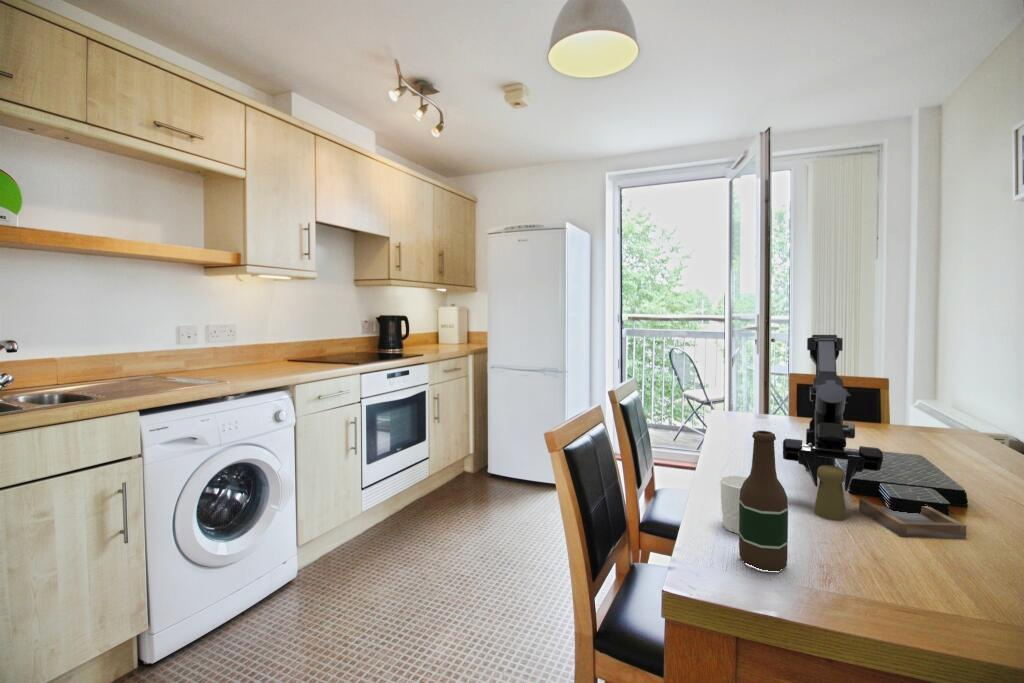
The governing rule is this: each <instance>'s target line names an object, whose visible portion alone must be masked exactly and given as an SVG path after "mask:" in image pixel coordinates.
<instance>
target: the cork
mask: <svg viewBox="0 0 1024 683" xmlns="http://www.w3.org/2000/svg"><path fill="white" fill-rule="evenodd" d="M845 477H846V471H844V469H842V468H841V467H840V466H836V465H835V466H832V465H822V466H820V467H819V468H818V470H817V479H819V484H818V486H817V493H816V499H815V504H814V505H815V506H814V510H813V514H814V515H816V516H817V517H819V518H822V519H825V520H829V521H836V522H841V521H846V520H847V519H848V518H847V517H848V516H847V512H846V511H847V510H846V503H845V496H844V488H843V483H845Z"/></svg>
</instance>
